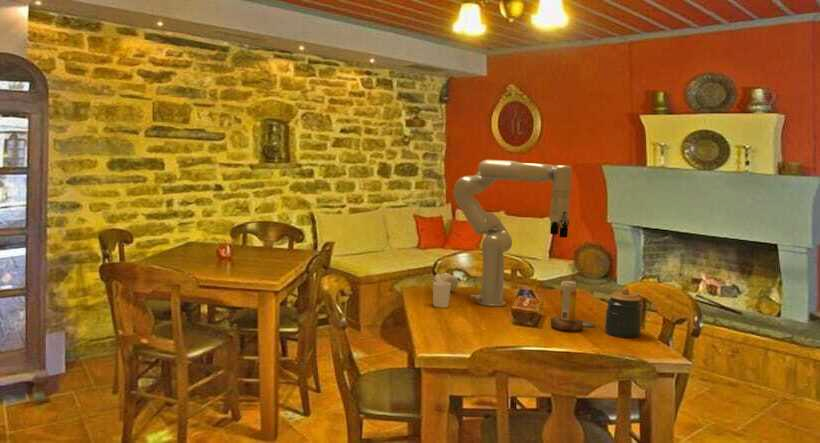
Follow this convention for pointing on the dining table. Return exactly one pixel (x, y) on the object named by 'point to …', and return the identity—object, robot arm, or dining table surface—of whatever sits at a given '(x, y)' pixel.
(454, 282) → the grey rounded block
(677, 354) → the dining table surface
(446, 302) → the white cup
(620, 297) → the canister
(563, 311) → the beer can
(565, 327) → the stand
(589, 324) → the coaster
